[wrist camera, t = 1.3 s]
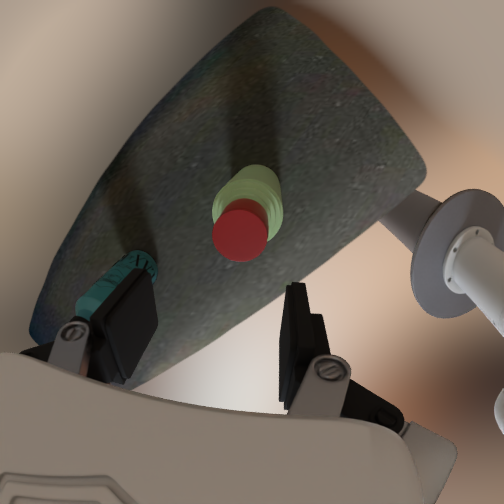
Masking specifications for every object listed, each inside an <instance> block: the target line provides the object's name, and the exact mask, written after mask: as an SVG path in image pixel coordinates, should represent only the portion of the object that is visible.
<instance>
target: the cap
mask: <svg viewBox="0 0 504 504" xmlns="http://www.w3.org/2000/svg"><path fill="white" fill-rule="evenodd" d="M268 223H269V221H268V215H267V212H266V210H265V209H264V207H263V206H262V205H261V204H260V203H258V202H257V201H255V200H252V199H248V198H241V199H236V200H234V201H232V202H230V203H229V204H228V205H227V206H226V207H225V209H224V210H223V212H222V213H221V215H220V216H219V218H218V219H217V221H216V222H215V224H214V227H213V231H212V238H213V242H214V245H215V247H216V249H217V250H218V251H219V252H220V253H221V254H222V255H223V256H224V257H226V258H228V259H230V260H233V261H238V262H244V261H249V260H252V259H254V258H256V257H257V256H259V255H260V254H261V253H262V251H263V250H264V248H265V246H266V243H267V239H268V233H269V226H268Z"/></svg>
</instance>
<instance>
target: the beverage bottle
mask: <svg viewBox="0 0 504 504" xmlns="http://www.w3.org/2000/svg"><path fill="white" fill-rule="evenodd" d="M126 254H127V253H126ZM134 268H142V269H147V271H148V272H149V273H151V277H152V285H153V284H154V282H155V280H157V279H156V277H157V275H158V269H157V265H156V263H155V261H154V260H153V258H152V257H151V256H150V255H149V254H147V253H145V252H143V251H139V250H136V251H131V252H129V253H128V254H127V255H124V256H123V257H122V258H121V259H120V260H118V262H116V263H115V264H114V265H113V266H112V268H111V269H110V270H109V271H108V272H107V273H106V274H104V276H103V275H102V276H103V277H102V276H101V278H100V279H99V280H97V281H96V283H94V285H92V287H91V288H90V289H89V290H88V291H87V292H86V293H85V294H84V295H83V296H82V297H80V298H79V299H78V301H77V303H76V307H75V309H76V315H77V316H74V317H73V318H72V319H71V320H70V322H74V321H81V322H84V323H86V324H87V323H88V322H89V321H90V319H89V317H90V316H91V315H92V314H93V313H94V312H95V310H96V309H97V308H98V307H99V306H100V305H101V304H102V302H103V301H104V300H105V299H106V298H107V297H108V296H109V295H110V293H111V292H112V291H113V290H114V289H115V288H116V287H117V286H118V285H119V283H120V282H121V281H122V280H123V279H124V278H125V277H126V276H127V275H128V274H129V273H130V272H131V271H132V269H134ZM70 322H69V323H70Z"/></svg>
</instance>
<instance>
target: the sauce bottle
mask: <svg viewBox="0 0 504 504" xmlns="http://www.w3.org/2000/svg"><path fill="white" fill-rule="evenodd" d="M241 198H248V199H252V200H255V201H257V202H258V203H260V204H261V205H262V206H263V207H264V209H265V210H266V212H267V215H268V221H269V223H268V226H269V233H268V239H267V241H269V240H270V239H271V238H272V237H273V236H274V235H275V234H276V233H277V232H278V230H279V228H280V226H281V224H282V220H283V206H282V198H281V189H280V183H279V180H278V177H277V176H276V174H275V173H274V172H273V171H272V170H271V169H269V168H268V167H266V166H263V165H249V166H247V167H244V168H243V169H241V170H240V171H239V172H238V173H237V174H236V175H235V176H234V177H233V178H232V179H231V180H230V181H229V182H228V183H227V184H226V185H225V186H224V187H223V188H222V189H221V190H220V191H219V193H218V194H217V196H216V198H215V200H214V203H213V208H212V215H213V220H214V223H215V222H216V221H217V219H218V218H219V216H220V215H221V213H222V212H223V210H224V209H225V207H226V206H227V205H228V204H229V203H230V202H232V201H234V200H236V199H241Z"/></svg>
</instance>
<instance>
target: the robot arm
mask: <svg viewBox="0 0 504 504" xmlns="http://www.w3.org/2000/svg"><path fill="white" fill-rule="evenodd" d="M443 279H444V281H445V284H446V285H447V287H448V288H449V289H450V290H451V291H453V292H454V293H458V294H464V293H466V294H467V295H468V296H469V298H470V299H471V300H472V301H473V302H474V303H475V304H476V305H477V306H478V307H479V309H480V310H481V311H482V312H483V313H484V314H485V316H486V317H487V318H488V319H489V320H490V321H491V322H492V324H493V325H494V326H495V327H496V329H497V330H498V331H499V332H500V333H501V335H502V336H503V337H504V252H503V251H501V250H500V249H498V248H497V247H496V246H495V245H494V240H493V238H492V236H491V234H490V233H489V231H487V230H486V229H484V228H482V227H480V226H471V227H469V228H466V229H465V230H463V231H462V232H461V233H459V234H458V235H457V236H456V238H455V239H454V240H453V241H452V243H451V245H450V246H449V248H448V250H447V253H446V255H445V258H444V263H443ZM89 319H90V321H89V322H88V323H87V324H86V323H84V322H81V321H74V322H70V323H67V324H66V325H64V326H63V327H62V328H61V329H60V330H59V332H58V334H57V337H56V339H55V341H53V342H50V343H46V344H43V345H40V346H37V347H33V348H30V349H27V350H24V351H22V352H20V353H19V354H18V353H11V352H0V504H435V503H436V501H437V499H438V497H439V495H440V493H441V491H442V489H443V487H444V485H445V483H446V481H447V479H448V477H449V475H450V472H451V470H452V468H453V466H454V463H455V461H456V458H457V454H458V453H457V448H456V446H455V445H454V443H453V442H451V441H450V440H448V439H446V438H444V437H442V436H440V435H438V434H436V433H434V432H432V431H430V430H428V429H426V428H424V427H422V426H420V425H418V424H417V423H415V422H413V421H411V422H410V424H409V423H408V422H406V421H404V417H403V414H402V412H401V411H400V410H399V409H398V408H397V407H395V406H394V405H392V404H390V403H389V402H387V401H386V400H384V399H382V398H381V397H379V396H377V395H376V394H374V393H372V392H371V391H369V390H367V389H366V388H364V387H363V386H361V385H359V384H358V383H356V382H355V381H353V380H351V379H350V376H351V368H350V365H349V364H348V363H347V362H346V360H344V359H343V358H341V357H338V356H336V355H331V353H330V348H329V343H328V339H327V334H326V330H325V325H324V320H323V316H322V314H311V313H310V308H309V302H308V296H307V291H306V285H305V283H299V282H292V284H291V285H287V286H286V293H285V301H284V309H283V316H282V323H281V330H280V338H279V402H284V410H288V413H287V415H283V414H268V413H256V412H245V411H236V410H235V411H234V410H227V409H219V408H212V407H206V406H199V405H194V404H188V403H182V402H177V401H172V400H167V399H163V398H158V397H154V396H150V395H146V394H141V393H138V392H134V391H130V390H126V389H123V388H119V387H116V386H112V385H111V384H110V382H115V383H119V384H123V385H124V383H125V381H126V379H129V378H130V377H131V376H132V374H133V372H134V370H135V368H136V366H137V364H138V362H139V360H140V359H141V357H142V355H143V353H144V351H145V349H146V347H147V345H148V344H149V342H150V340H151V338H152V336H153V334H154V333H155V331H156V329H157V326H158V318H157V312H156V305H155V299H154V292H153V285H152V277H151V273H149V272H148V271H147V269H142V268H134V269H132V271H131V272H130V273H129V274H128V275H127V276H126V277H125V278H124V279H123V280H122V281H121V282H120V283H119V285H118V286H117V287H116V288H115V289H114V290H113V291H112V292H111V293H110V295H109V296H108V297H107V298H106V299H105V300H104V301H103V302H102V304H101V305H100V306H99V307H98V308H97V309H96V310H95V312H94V313H93V314H92V315H91V316H90V317H89ZM494 414H495V418H496V421H497V424H498V425H499V427H500V429H501V431H502V433H503V434H504V388H503V390H502V391H501V392H500V394H499V396H498V397H497V399H496V402H495V405H494Z"/></svg>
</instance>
